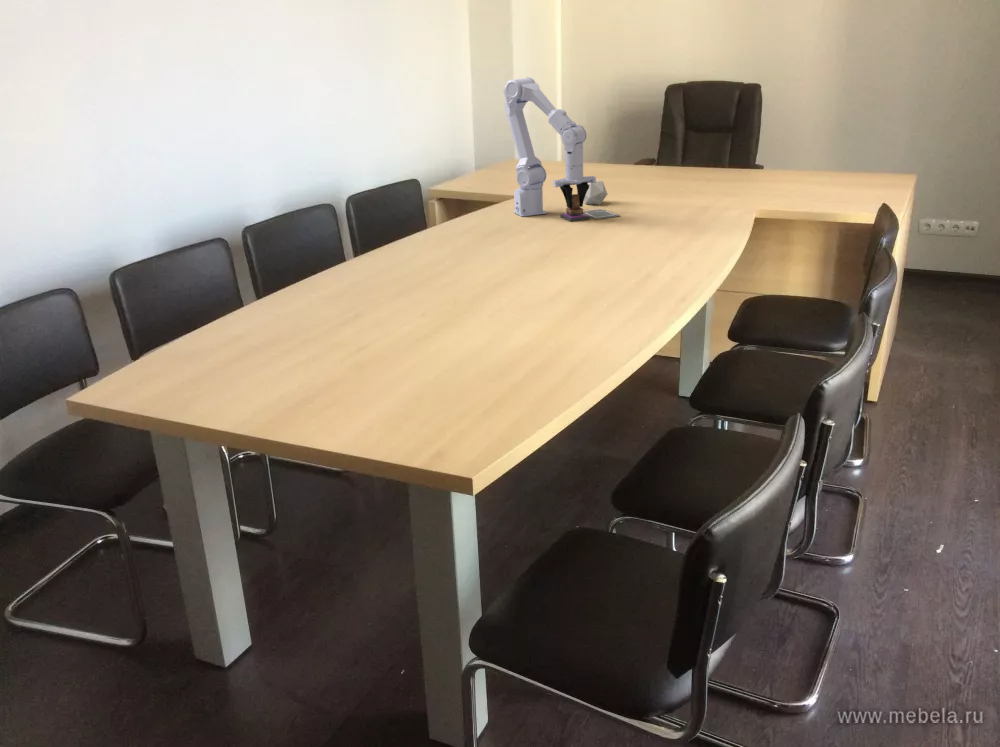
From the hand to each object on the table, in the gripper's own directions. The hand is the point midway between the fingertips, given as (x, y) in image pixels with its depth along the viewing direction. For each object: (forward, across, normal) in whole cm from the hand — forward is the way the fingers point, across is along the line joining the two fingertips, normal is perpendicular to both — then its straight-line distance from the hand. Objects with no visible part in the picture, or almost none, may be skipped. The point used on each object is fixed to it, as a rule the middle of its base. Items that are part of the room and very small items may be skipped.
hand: (574, 206), depth 278 cm
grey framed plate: (+4, +10, 0) cm, 10 cm away
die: (+4, +16, +18) cm, 24 cm away
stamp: (+2, 0, 0) cm, 2 cm away
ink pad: (+4, 0, 0) cm, 4 cm away
